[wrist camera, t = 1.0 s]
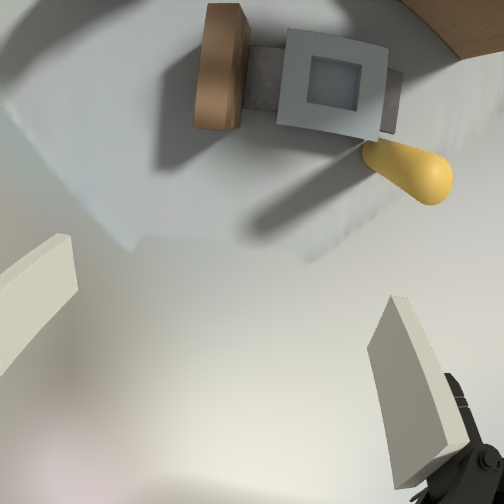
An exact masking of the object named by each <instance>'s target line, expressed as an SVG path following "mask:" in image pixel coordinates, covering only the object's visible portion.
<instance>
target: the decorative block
mask: <svg viewBox="0 0 504 504" xmlns="http://www.w3.org/2000/svg"><path fill="white" fill-rule="evenodd" d="M401 1H402V2H403V3H404V4H406V5H407V6H408V7H409V8H410V9H411V10H413V11H414V12H415V13H416V14H417V15H418V16H419V17H420V18H421V19H422V20H423V21H425V22H426V23H427V24H428V25H429V26H430V27H431V28H432V29H433V30H434V31H435V32H436V33H437V34H438V35H439V36H440V37H441V38H442V39H443V40H444V41H445V42H446V43H447V45H448V46H449V47H450V48H451V49H452V50H453V51H454V52H455V53H456V54H457V55H458V57H459V58H460V59H461V60H463V59H468V58H472V57H476V56H481V55H486V54H491V53H496V52H501V51H504V0H401Z"/></svg>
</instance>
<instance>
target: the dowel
mask: <svg viewBox="0 0 504 504" xmlns="http://www.w3.org/2000/svg"><path fill="white" fill-rule="evenodd" d="M362 158H363V161H364V162H365V164H366V165H367V166H368V167H370V168H371V169H373V170H375V171H376V172H378V173H379V174H381V175H382V176H384V177H385V178H387V179H388V180H389V181H391V182H392V183H394V184H395V185H397V186H398V187H400V188H401V189H402V190H404V191H405V192H407V193H408V194H409V195H411V196H412V197H414V198H415V199H416V200H418V201H419V202H420V203H423V204H425V205H436V204H438V203H440V202H442V201H443V200H444V199H445V198H446V197H447V196H448V195H449V193H450V191H451V188H452V185H453V173H452V170H451V167H450V165H449V163H448V162H447V161H446V160H445V159H444V158H443V157H442V156H440V155H437V154H434V153H431V152H428V151H425V150H421V149H418V148H415V147H411V146H408V145H404V144H400V143H397V142H393V141H389V140H385V139H381V138H378V142H374V141H370V140H368V141H366V143H365V144H364V145H363V148H362Z"/></svg>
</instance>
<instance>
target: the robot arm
mask: <svg viewBox="0 0 504 504" xmlns="http://www.w3.org/2000/svg"><path fill="white" fill-rule="evenodd" d="M77 291H78V286H77V280H76V273H75V267H74V260H73V253H72V244H71V236H69V235H65V234H60V233H57V234H56V235H54V236H53V237H51V238H50V239H48V240H47V241H45V242H44V243H42V244H41V245H40V246H38V247H37V248H35V249H34V250H32V251H31V252H30V253H28V254H27V255H25V256H24V257H23V258H21V259H20V260H19V261H17V262H16V263H15V264H13V265H12V266H11V267H9V268H8V269H7V270H6V271H4V272H3V273H1V274H0V377H1V376H2V374H3V373H4V371H6V369H7V368H8V367H9V366H10V364H11V363H12V362H13V361H14V360H15V359H16V357H17V356H18V355H19V354H20V353H21V351H22V350H23V349H24V348H25V347H26V346H27V345H28V343H29V342H30V341H31V340H32V339H33V338H34V337H35V336H36V334H37V333H38V332H39V331H40V330H41V329H42V327H44V326H45V324H46V323H47V322H48V321H49V320H50V319H51V318H52V317H53V316H54V315H55V314H56V313H57V311H59V309H60V308H61V307H62V306H63V305H64V304H65V303H66V302H67V301H68V300H69V299H70V298H71V297H72V296H73V295H74V294H75V293H76V292H77ZM367 350H368V354H369V358H370V362H371V367H372V371H373V375H374V380H375V384H376V388H377V393H378V398H379V402H380V406H381V412H382V417H383V422H384V427H385V432H386V437H387V443H388V449H389V455H390V461H391V468H392V474H393V482H394V489H395V490H397V489H405V488H412V487H416V486H417V485H419V484H420V483H422V482H423V481H424V480H425V479H426V480H427V485H428V487H426V488H425V489H424V490H422V491H421V492H419V493H418V494H416V495H415V496H413V497H412V498H411V500H410V502H413V501H414V500H416V499H418V500H417V502H416V503H415V504H504V458H502V457H501V455H500V453H499V452H498V450H497V449H496V448H494V447H493V446H491V445H489V444H483V442H482V440H481V437H480V434H479V432H478V429H477V426H476V424H475V421H474V418H473V416H472V413H471V411H470V408H468V403H467V401H466V399H465V398H464V394H463V391H462V389H461V387H460V385H459V383H458V382H457V381H456V380H455V378H454V377H453V376H452V375H451V374H450V373H443V370H442V368H441V366H440V363H439V361H438V359H437V357H436V355H435V352H434V350H433V348H432V346H431V344H430V342H429V340H428V338H427V336H426V333H425V331H424V329H423V327H422V325H421V323H420V321H419V319H418V317H417V315H416V313H415V311H414V309H413V307H412V305H411V304H410V302H409V300H408V298H406V297H400V296H393V295H391V296H390V298H389V301H388V303H387V306H386V308H385V310H384V312H383V315H382V317H381V319H380V321H379V324H378V326H377V328H376V330H375V332H374V334H373V337H372V339H371V341H370V343H369V345H368V347H367Z"/></svg>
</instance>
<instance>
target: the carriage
mask: <svg viewBox="0 0 504 504" xmlns="http://www.w3.org/2000/svg"><path fill="white" fill-rule="evenodd" d="M388 56H389V49H388V48H385V47H381V46H378V45H374V44H370V43H366V42H362V41H358V40H353V39H349V38H344V37H339V36H334V35H329V34H323V33H317V32H311V31H304V30H297V29H289V28H288V29H287V38H286V47H285V55H284V64H283V72H282V81H281V89H280V98H279V106H278V114H277V123H276V124H279V125H287V126H294V127H301V128H307V129H313V130H319V131H325V132H330V133H336V134H341V135H346V136H351V137H356V138H361V139H365V140H370V141H374V142H378V137H379V131H380V124H381V117H382V110H383V103H384V95H385V86H386V77H387V67H388Z"/></svg>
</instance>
